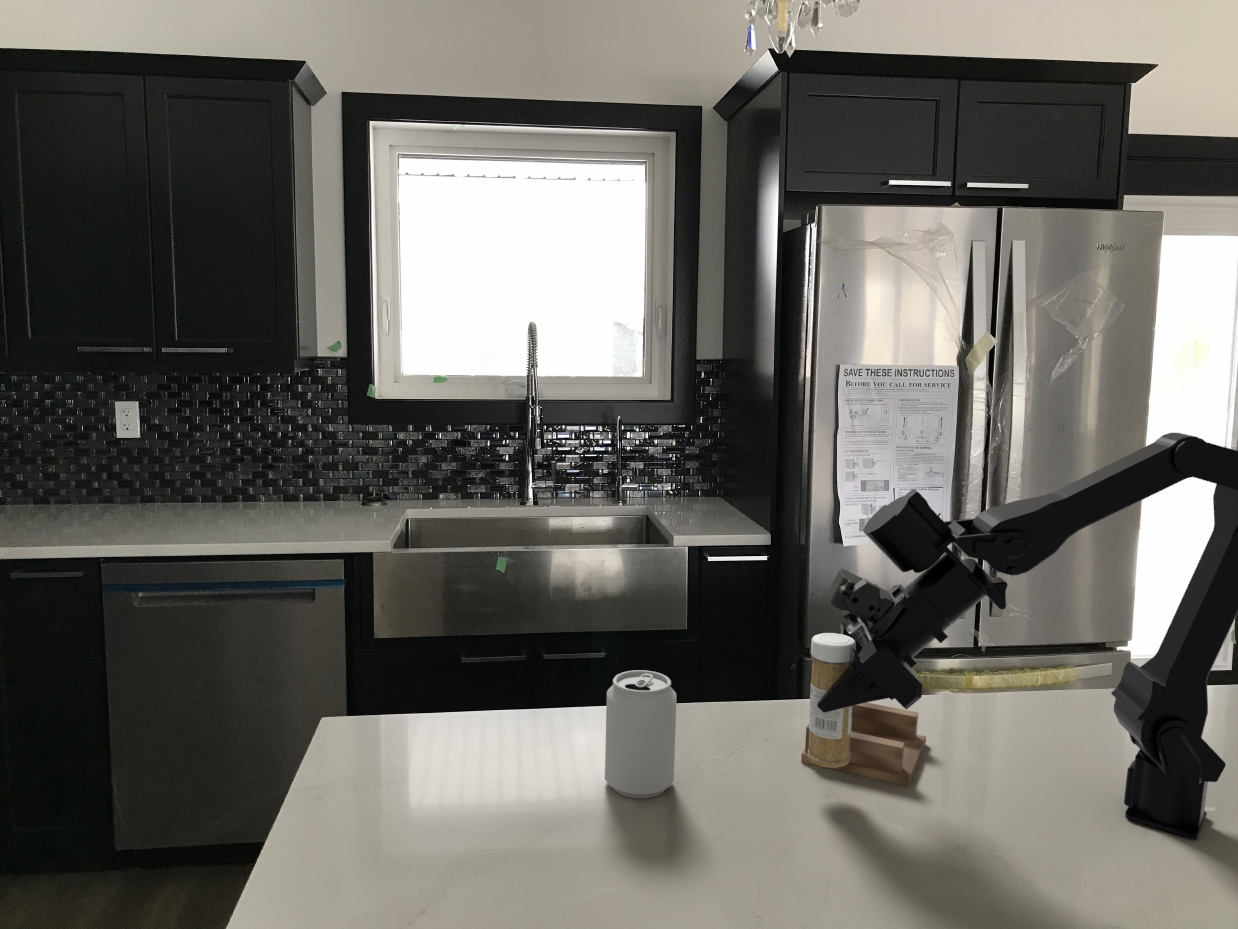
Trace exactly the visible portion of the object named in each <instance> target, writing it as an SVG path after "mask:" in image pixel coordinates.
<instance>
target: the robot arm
mask: <svg viewBox="0 0 1238 929" xmlns="http://www.w3.org/2000/svg"><path fill="white" fill-rule="evenodd" d="M1189 478H1195V479H1198V480H1202V481H1205V482H1209V483H1212V484H1215V489H1214V493H1213V497H1212V499H1213V501H1212V502H1213V503H1212V504H1213V525H1214V526H1213V530H1212V532H1211V535H1210V536H1209V539H1208V540H1207V543H1206V545H1205V548H1204V550H1203V551H1202V554H1201V556H1200V559H1199V560H1198V562H1197V565H1196V568H1195V569H1194V571H1193V574H1192V575H1191V578H1190V580H1189V583H1188V585H1187V587H1186V589H1185V591H1184V593H1183V596H1182V597H1181V600H1180V602H1179V605H1178V606H1177V609H1176V611H1175V613H1174V615H1173V618H1172V619H1171V621H1170V624H1169V627H1168V628H1167V631H1166V633H1165V634H1164V637H1163V639H1162V642H1161V643H1160V646H1159V649H1158V650H1157V651H1156V653H1155V655H1154V656H1153V657H1152V658H1150V659H1149V660H1147V662H1145V663H1143V664H1142V665H1141V666H1139V665H1138V664H1136V663H1134V662H1132V661H1127V663H1126V664H1125V666H1124V668H1123V671H1122V672H1123V673H1122V675H1121V678H1120V681H1119V683H1118V685H1117V686H1116V687H1115V688H1114V689H1113V690H1112V691H1111V695H1112V696H1113V697H1114V698H1115V701H1114V704H1113V713H1114V714H1115V717H1116V719H1117V721H1118V723H1119V724H1120V726H1122V727H1123V728H1124V729H1125V731H1127V732H1128V735H1129V739H1130V742H1131V743H1132V744H1133V745H1136V746H1137V747H1138V749H1139V750H1138V751H1137V753H1136V755H1135V756H1134V760H1132V761H1131V763H1130V764H1129V766H1128V768H1127V772H1126V773H1127V774H1126V781H1125V791H1124V799H1123V804H1125V806H1127V809H1126V810H1125V814H1124V817H1125V818H1126V819H1128V820H1129V821H1130V820H1131V821H1133V822H1137V823H1140V824H1144V825H1147V826H1150V827H1153V828H1156V829H1160V830H1163V831H1166V832H1169V833H1173V834H1174V835H1175V834H1176V835H1179V836H1181V837H1185V838H1188V839H1191V840H1198V839H1199V837H1200V834H1201V832H1202V828H1203V827H1204V824H1205V821H1206V819H1207V815H1208V812H1207V811H1205V807H1206V800H1207V793H1208V792H1207V791H1208V783H1209V782H1211V783H1217V782H1218V781H1219V779H1220V777H1221V775H1222V773H1223V771H1224V770H1225V768H1226V765H1227V764H1226V762H1225V761H1224V760H1223V759H1222V757H1220V755H1218V754H1217V752H1216V751H1215V750H1214V749H1213V748H1212V747H1211V746H1210V745H1209V744H1208V743H1207V741H1205V740H1204V739H1203V738H1202V737H1203V733H1204V729H1205V725H1206V722H1207V718H1208V714H1209V699H1208V698H1209V696H1208V678H1209V674H1210V673H1211V671H1212V668H1213V666H1214V665H1215V663H1216V660H1217V658H1218V656H1219V653H1220V651H1221V649H1222V647H1223V645H1224V643H1225V641H1226V638H1227V637H1228V634H1229V632H1230V630H1231V629H1232V626H1233V623H1234V621H1235V620H1236V618H1237V615H1238V450H1236V449H1232V448H1228V447H1226V446H1222V445H1218V444H1214V443H1211V442H1207V441H1205V440H1204V439H1203V438H1200V437H1197V436H1194V435H1191V434H1186V433H1181V432H1169V433H1166V434H1162V435H1161V436H1160V437H1158V439H1156V440H1155V441H1154V442H1152V443H1150V444H1148V445H1146V446H1144V447H1141V448H1140V449H1137V450H1136V451H1133V452H1132V453H1129V454H1128V455H1125V456H1124V457H1121V458H1119V459H1117V460H1116V461H1114V462H1111V463H1110V464H1108V465H1105V466H1103V467H1101V468H1099V469H1097V470H1095V471H1093V472H1092V473H1089V474H1087V475H1085V476H1083V477H1081V478H1079V479H1077V480H1075V481H1073V482H1071V483H1069V484H1066V485H1065V486H1063V487H1061V488H1059V489H1057V490H1055V491H1052V492H1051V493H1047V494H1043V495H1040V496H1035V497H1029V498H1023V499H1017V500H1014V501H1011V502H1007V503H1005V504H1000V505H998V506H995V507H992V508H988V509H985V510H983V511H982V512H980V513H979V514H978V515H975V517H974V518H967V519H966V518H963V519H957V520H956V519H954V520H945V521H944V520H943V519H942V518H941V517H940V516H939V515H938V513H936V511H934V510H933V509H932V507H930V504H929V502H928V500H926V498H925V497H924V496H923V495H922V494H921V493H920V492H919V491H917V490H916V489H915V488H913V489H911V490H909V492H907V493H905V495H902V496H899V497H898V498H895V499H894V500H892V501H891V502H889V503H888V504H884V505H883V506H881V507H880V508H879V509H878V510H877V511H876V512H875V513H873V515H872V516H871V517H870V518H869V520H868V521H867V522H866V524H864V528H863V533H864V534H865V535H866V537H867V538H868V539H869V540H870V541H871V542H872V543H873V544H874V545H875V546H876V548H878V549H879V550H880V551H881V552H882V553H883V555H885V556H886V557H887V558H888V559H889V560H890V561H891V563H892V564H893V565H894V566H895V567H896V568H897V569H898V570H899V571H900V572H902V573H908V572H910V571H913V573H915V574H919V573H920V574H919V575H918V576H917V577H916V578H915V579H913V581H912V582H910V583H909V584H907V586H905V587H904V585H902V584H901V583H900V584H899V585H898V584H894V585H893V586H892V587H891V588H890V589H888V590H886V589H884V588H882V587H879V585H878V584H876V583H874V582H871V581H869V580H867V579H866V578H863V577H861V576H858V575H856V574H854V573H853V572H851V571H848V570H846V569H844V568H839V569H838V572H837V573H836V576H835V577H834V579H833V581H832V583H831V585H830V586H829V588H828V590H827V592H826V596H827V597H829V600H828V602H829V603H830V605H832V606H833V607H835V608H836V609H839V611H840V613H841V615H842V618H844V619H845V620H846V621H847V620H849V621H851V623H850V624H848V626H847V625H846V624H845V622H843V621H841V622H840V634H842V635H846V636H849V637H851V638H853V639H854V640H855V642H856V651H855V649H854V648H853V647H851V648H850V662H849V667H848V668H847V670H846V671H845V672H844V673H843V674H842V675H841V676H840V677H839V679H838V680H837V681H836V682H835V683H834V684H833V685H832V686H831V688H830V689H829V690H828V691H827V692H826V693H825V694H824V696H823V697H822V698H821V699H820V701H819V702H818V703H817V706H818V708H819V709H820V710H821V711H822V712H829V711H833V710H837V709H841V708H845V707H849V706H853V705H857V704H862V703H866V702H867V703H872V702H875V701H882V700H886V699H889V700H891V701H892V700H896V701H897V702H898V703H899V704H900V705H901V706H902V708H904V710H908V709H909V708H910V707H912V706H914V704H916V703H917V702H918V701H919V700H921V698H922V692H923V683H922V682H921V679H920V678H919V676H918V674H917V673H916V671H915V670H914V669H913V667H914V666H915V665H916V664H918V663H917V662H918V661H916V659H915V658H914V657H915V656H916V655H917V654H919V653H920V652H921V651H922V650H924V649H925V648H926V647H927V646H929V644H930V643H932V642H933V641H934V640H936V641H938V643H940V644H942V643H943V642H944V641H945V640H947V639H948V637H949V636H948V634H947V633H946V632H945V631H947V629H948V628H950V627H951V626H952V625H953V624H954V623H955V622H957V621H958V620H959V619H960V618H961V617H963V616H964V615H966V614H967V613H968V612H969V611H970V610H971V609H972V608H973V607H974V606H976V605H977V604H978V603H979V602H981V601H982V600H983V599H984V598H986V597H987V598H988V599H989V600H990V601H991V602H992V603H993V604H994V605H995V606H996V607H997V608H998V609H1000V610H1005V609H1006V608H1007V598H1006V597H1007V595H1006V594H1007V593H1006V592H1007V589H1008V582H1007V581H1006V580H1004V578H1002V577H1000V576H998V577H997V576H996V577H994V576H991V575H989V573H988V572H987V571H986V570H985V569H984V568H983V567H982V565H980V564H979V563H978V562H977V561H976V559H977V560H981V561H984V562H985V563H986V564H987V565H988V566H989V567H991V568H992V569H994V570H995V571H996V572H999V573H1001V574H1005V575H1009V576H1019V575H1023V574H1027V573H1028V572H1030V571H1032V570H1033V569H1034V568H1036V567H1037V566H1038V565H1040V564H1041V563H1042V562H1043V563H1044V561H1045V560H1047V559H1048V558H1050V557H1052V556H1053V555H1054V554H1056V553H1057V552H1058V551H1059V550H1060V548H1061V547H1062V546H1063V545H1064V544H1065V543H1066V541H1068V539H1069V538H1071V537H1072V536H1074V535H1075V534H1076V533H1078V532H1079V531H1080V530H1083V529H1085V528H1087V527H1089V526H1091V525H1093V524H1095V523H1098V522H1099V521H1102V520H1103V519H1106V518H1107V517H1110V516H1111V515H1114V514H1115V513H1118V512H1120V511H1122V510H1124V509H1126V508H1128V507H1130V506H1132V505H1134V504H1138V503H1139V502H1141V501H1143V500H1145V499H1147V498H1149V497H1150V496H1153V495H1155V494H1158V493H1159V492H1162V491H1163V490H1166V489H1168V488H1169V487H1172V486H1174V485H1175V484H1178V483H1180V482H1183V481H1184V480H1186V479H1189ZM952 543H953V544H954V545H955V546H956V547H957V548H958V549H959V550H961V551H962V552H963V553H964V555H966V556H967V557H968V558H964V559H962V560H960V559H959V557H957V555H955V553H954V552H952V550H951V549H950V548H949V547H948V546H950V545H951V544H952Z"/></svg>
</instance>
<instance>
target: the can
mask: <svg viewBox="0 0 1238 929" xmlns="http://www.w3.org/2000/svg"><path fill="white" fill-rule="evenodd" d="M671 686H672V680H671V679H670V678H669V677H668V676H667V675H664V674H663V673H660V672H657V671H654V670H653V671H651V670H645V669H643V670H641V669H640V670H639V669H638V670H628V671H624V672H621V673H618V674H616V675H615V676H614V678H612V685H611V686H610V687H609V688H608V690H606V705H605V706H606V707H605V709H606V714H605V715H606V716H605V719H606V720H605V752H604V753H605V754H604V755H605V756H604V757H605V758H604V759H605V760H604V780H605V781H606V784H608V786H610V787H611V788H612V789H613V791H615V792H616V793H618V794H619V795H622V796H624V797H627V798H633V799H648V798H649V799H650V798H653V797H656V796H659V795H660V794H662V793H664V792H665V790H667V789H668V788H669V787H671V786H672V784H673V783H674V779H675V758H676V757H675V753H676V750H675V748H676V725H677V724H676V720H677V693H676V691H675V690H674V689H673V688H672V687H671Z"/></svg>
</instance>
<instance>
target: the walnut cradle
mask: <svg viewBox="0 0 1238 929" xmlns="http://www.w3.org/2000/svg"><path fill="white" fill-rule="evenodd" d="M918 720H919V712H918V711H912V710H908V709H901V708H898V707H894V706H893V707H892V706H887V705H883V704H882V705H881V704H877V703H872V702H866V703H862V704H857V705H853V706H852V724H851V733H850V757H851V758H850V761H849V763H848V764H847V765H845V766H842V767H838V768H830V767H825V768H826V769H832V770H836V771H839V772H845V773H847V774H848V773H849V774H853V775H858V776H862V777H865V778H866V777H867V778H871V779H874V780H878V781H884V782H888V783H891V784H892V783H893V784H896V785H900V786H905V787H910V784H911V781H912V779H913V776H914V774H915V772H916V769H917V767H918V764H919V761H920V759H921V757H922V755H923V752H924V750H925V746H926V742H927V736H925V735H923V734H917V733H918ZM805 730H806V731H805V745H804V746H805V747H804V749H803V751H802V752H801V760H800V762H801V763H805V764H808V765H809V764H810V765H814V766H818V767H822V768H824V767H823V766H820V765H817V764H815V763H813V762H812V761H811V760H810V759H809V758H808V756H807V753H808V750H809V724H807V726H806V728H805Z"/></svg>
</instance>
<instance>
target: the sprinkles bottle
mask: <svg viewBox="0 0 1238 929" xmlns="http://www.w3.org/2000/svg"><path fill="white" fill-rule="evenodd" d="M851 647H853V648H854V649H855V651H856V642H855V640H854V639H853V638H851V637H849V636H846V635H842V634H841V633H835V632H823V633H818V634H815V635H814V636H813V637H812V638H811V645H810V654H811V660H812V663H811V681H810V690H809V691H810V696H809V720H808V721H809V722H808V725H809V750H808V753H807V756H808V758H809V759H810V760H811V761H812V762H813V763H815V764H817V765H820V766H819V767H822V766H823V767H822V768H826V767H830V768H838V767H842V766H845V765H847V764H848V763H849V761H850V758H851V757H850V733H851V724H852V706H849V707H845V708H841V709H837V710H833V711H829V712H822V711H821V710H820V709H819V708H818V706H817V703H818V702H819V701H820V699H821V698H822V697H823V696H824V694H825V693H826V692H827V691H828V690H829V689H830V688H831V686H832V685H833V684H834V683H835V682H836V681H837V680H838V679H839V677H840V676H841V675H842V674H843V673H844V672H845V671H846V670H847V668H848V667H849V662H850V648H851ZM817 765H816V766H817ZM830 768H829V769H830Z"/></svg>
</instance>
